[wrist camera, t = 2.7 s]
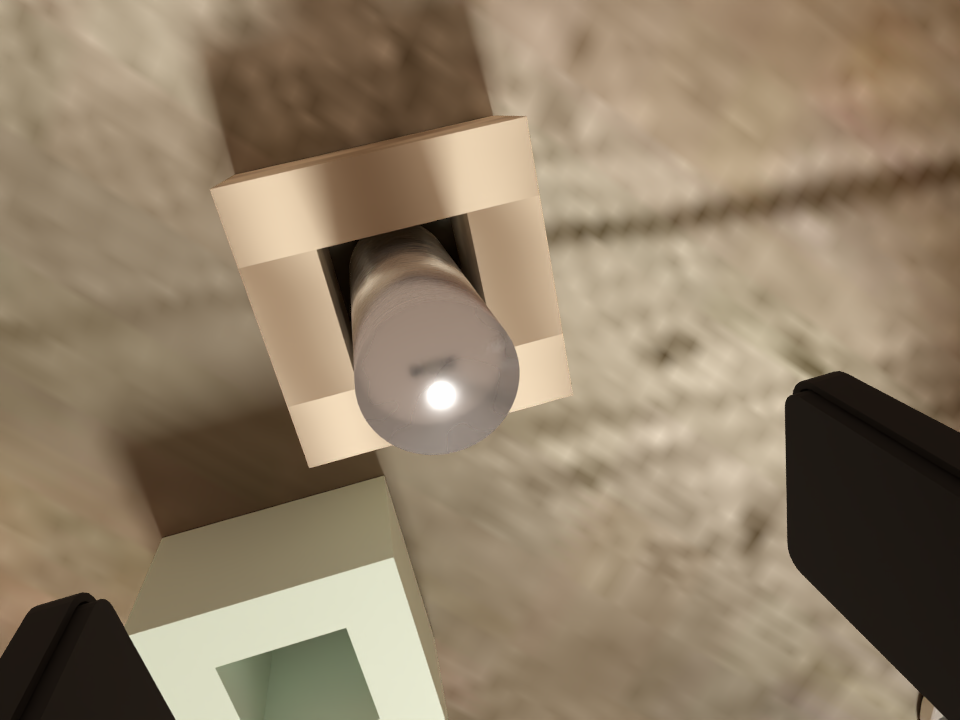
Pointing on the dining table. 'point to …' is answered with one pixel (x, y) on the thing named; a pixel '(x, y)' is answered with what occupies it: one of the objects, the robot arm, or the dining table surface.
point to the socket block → (380, 209)
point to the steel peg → (426, 346)
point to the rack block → (291, 616)
